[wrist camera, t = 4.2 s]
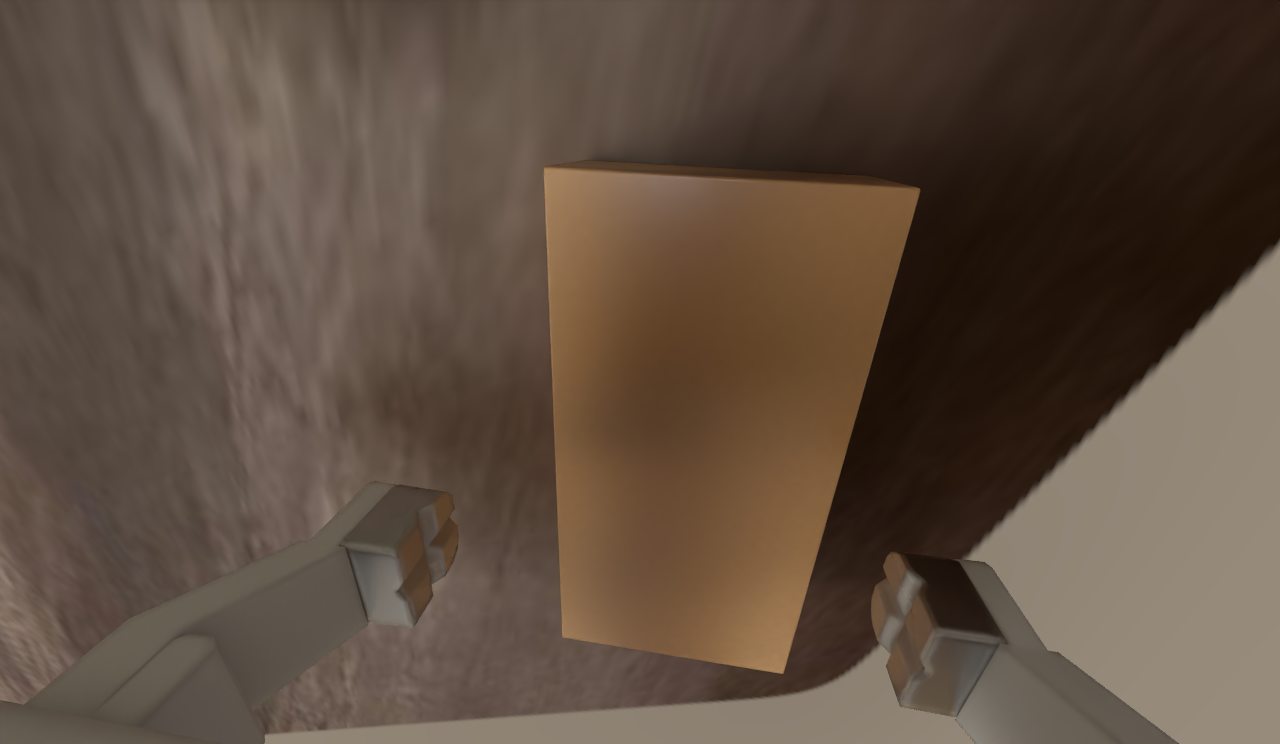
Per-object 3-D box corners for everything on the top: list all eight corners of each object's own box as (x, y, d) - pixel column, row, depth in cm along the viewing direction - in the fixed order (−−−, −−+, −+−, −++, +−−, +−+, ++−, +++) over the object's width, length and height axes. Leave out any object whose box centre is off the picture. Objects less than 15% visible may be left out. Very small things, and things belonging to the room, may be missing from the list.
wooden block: (870, 176, 11) (922, 188, 8) (772, 587, 16) (783, 674, 14) (583, 159, 11) (542, 166, 9) (586, 560, 17) (561, 638, 14)
